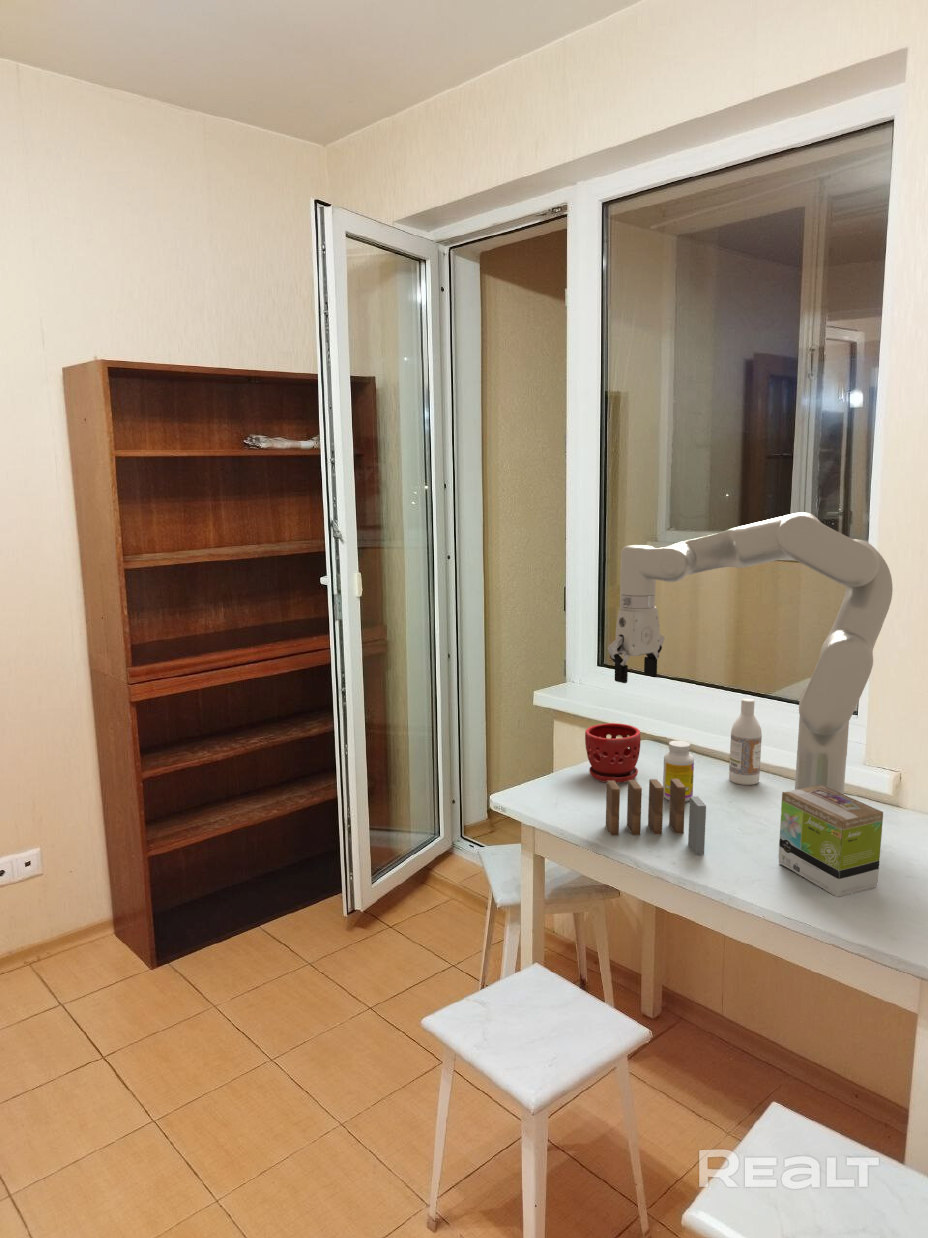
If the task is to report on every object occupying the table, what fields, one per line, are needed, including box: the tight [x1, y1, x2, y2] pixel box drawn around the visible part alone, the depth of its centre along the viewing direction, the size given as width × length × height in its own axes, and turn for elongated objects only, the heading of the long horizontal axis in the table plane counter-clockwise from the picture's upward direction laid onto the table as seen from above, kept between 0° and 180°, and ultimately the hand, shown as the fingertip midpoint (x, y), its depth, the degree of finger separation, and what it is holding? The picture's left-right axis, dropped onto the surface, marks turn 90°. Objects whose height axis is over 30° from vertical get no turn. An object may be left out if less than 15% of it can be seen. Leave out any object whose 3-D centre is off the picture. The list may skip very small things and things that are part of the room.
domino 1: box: [605, 780, 621, 836], centre depth 185 cm, size 2×5×10 cm, turn 3°
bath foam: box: [728, 697, 763, 786], centre depth 213 cm, size 7×7×20 cm
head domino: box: [687, 795, 707, 856], centre depth 175 cm, size 2×5×10 cm, turn 3°
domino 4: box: [668, 779, 686, 835], centre depth 185 cm, size 2×5×10 cm, turn 4°
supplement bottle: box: [662, 740, 695, 803], centre depth 202 cm, size 7×7×13 cm
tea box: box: [778, 784, 884, 898], centre depth 163 cm, size 15×10×15 cm, turn 23°
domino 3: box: [647, 778, 664, 835], centre depth 185 cm, size 2×5×10 cm, turn 4°
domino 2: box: [626, 779, 643, 836], centre depth 185 cm, size 2×5×10 cm, turn 4°
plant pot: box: [584, 722, 642, 785], centre depth 216 cm, size 13×13×12 cm
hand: (635, 678), depth 198 cm, fingers open, 9 cm apart
